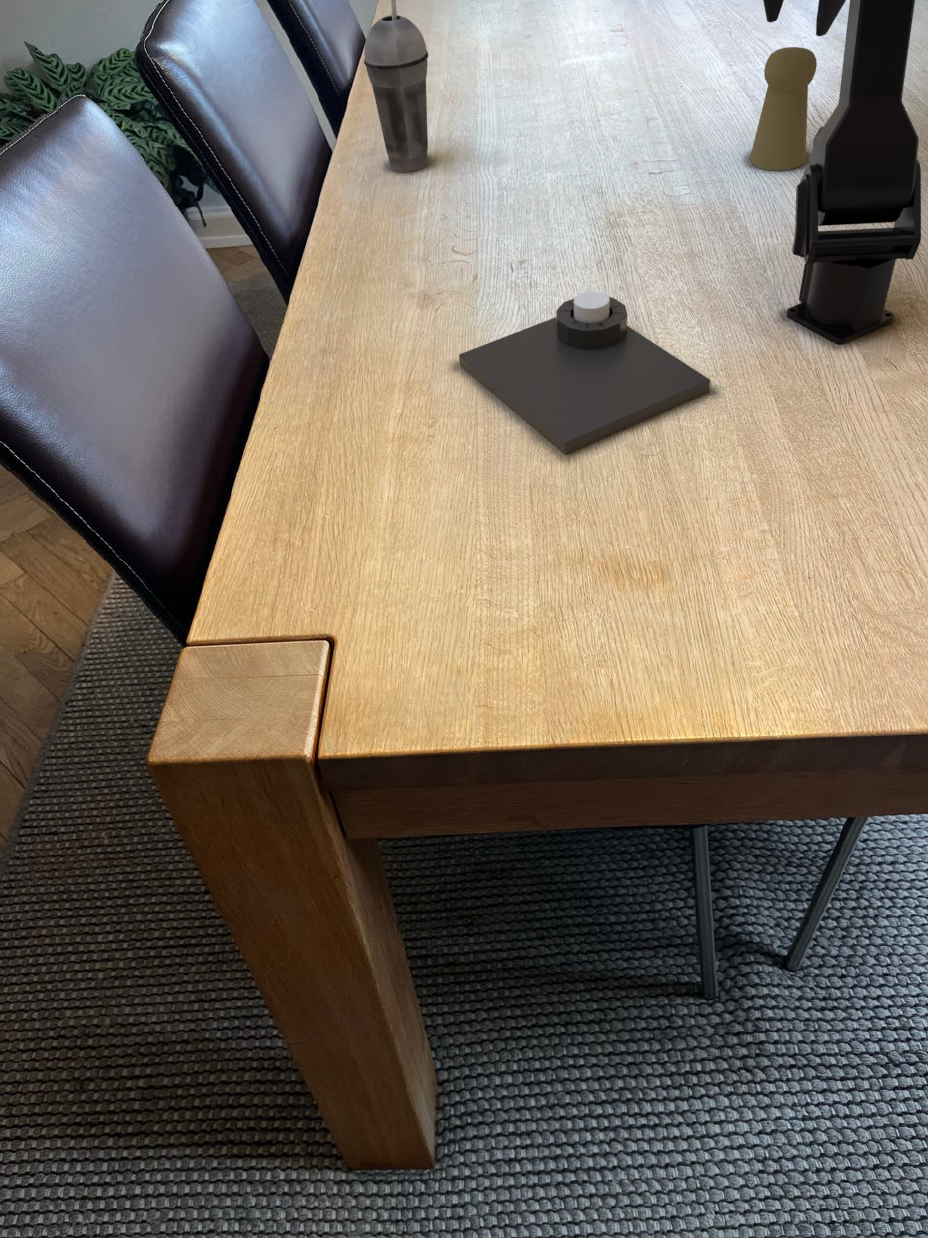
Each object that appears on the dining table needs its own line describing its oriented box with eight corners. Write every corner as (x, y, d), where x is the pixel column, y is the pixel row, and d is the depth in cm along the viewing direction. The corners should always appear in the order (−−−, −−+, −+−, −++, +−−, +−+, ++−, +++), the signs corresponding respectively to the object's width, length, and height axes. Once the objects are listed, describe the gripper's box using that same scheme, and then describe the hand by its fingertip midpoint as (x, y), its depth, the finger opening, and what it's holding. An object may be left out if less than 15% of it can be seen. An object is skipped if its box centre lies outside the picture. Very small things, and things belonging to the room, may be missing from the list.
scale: (709, 392, 78) (713, 359, 76) (565, 455, 74) (564, 422, 71) (592, 314, 88) (592, 283, 86) (459, 366, 84) (456, 335, 82)
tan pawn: (806, 170, 106) (825, 58, 98) (749, 170, 107) (762, 60, 99) (804, 148, 110) (822, 39, 102) (749, 149, 111) (762, 41, 103)
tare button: (616, 317, 82) (616, 300, 81) (587, 328, 81) (587, 311, 80) (595, 303, 84) (595, 287, 83) (566, 314, 83) (566, 298, 82)
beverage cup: (367, 172, 116) (337, -24, 101) (398, 149, 120) (373, -42, 106) (420, 179, 113) (397, -21, 98) (450, 155, 117) (432, -40, 103)
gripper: (686, -160, 91) (674, 27, 102) (834, -141, 80) (802, 68, 91) (776, -180, 95) (755, 4, 106) (931, -165, 83) (889, 40, 94)
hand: (795, 28), depth 99 cm, fingers open, 7 cm apart
